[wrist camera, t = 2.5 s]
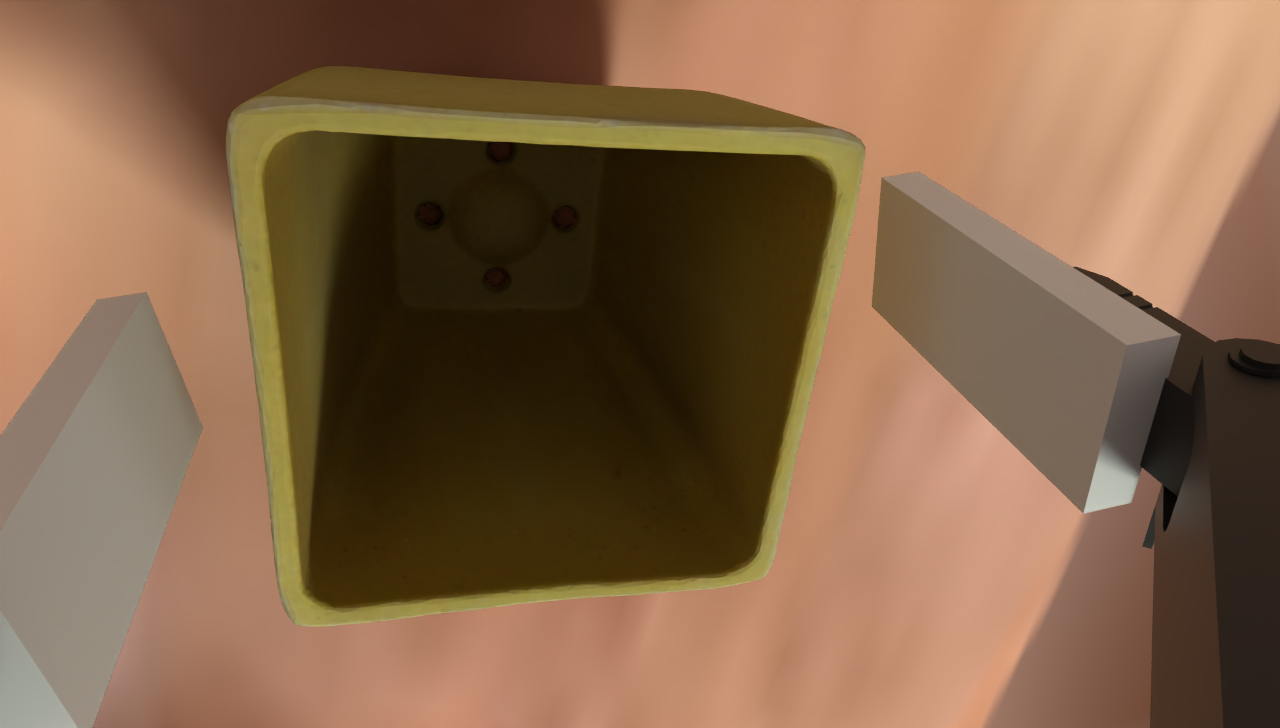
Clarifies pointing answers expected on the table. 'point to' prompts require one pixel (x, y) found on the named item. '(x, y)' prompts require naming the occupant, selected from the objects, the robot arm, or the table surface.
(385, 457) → the flower pot
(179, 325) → the table surface
